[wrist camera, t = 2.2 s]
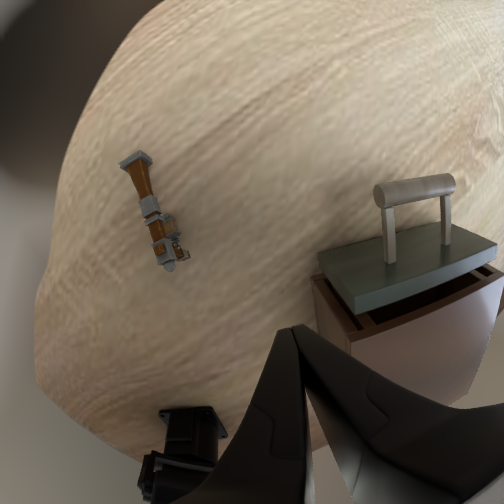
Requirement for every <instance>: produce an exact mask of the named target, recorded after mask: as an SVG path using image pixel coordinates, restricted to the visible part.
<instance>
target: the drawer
mask: <svg viewBox="0 0 504 504" xmlns="http://www.w3.org/2000/svg"><path fill="white" fill-rule="evenodd" d="M455 188H456V184H455V180H454V178H453V176H452V175H451V174H449V173H445V174H438V175H431V176H425V177H418V178H412V179H406V180H400V181H394V182H388V183H382V184H377V185H375V186H374V189H373V195H374V200H375V202H376V204H377V206H378V207H379V208H381V215H382V227H383V237H380V238H376V239H372V240H368V241H364V242H360V243H357V244H353V245H349V246H345V247H341V248H337V249H333V250H329V251H325V252H321V253H318V261H319V268H320V269H321V270H322V272H323V273H324V274H325V276H326V277H327V278H328V280H329V281H330V282H331V284H332V293H333V294H334V296H335V297H336V299H337V300H338V302H339V303H340V305H341V306H342V308H343V309H344V310H345V312H346V313H347V315H348V316H349V318H350V319H351V321H352V322H353V324H354V325H355V327H356V328H357V330H358V331H360V330H363V329H366V328H369V327H372V326H375V325H378V324H381V323H384V322H386V321H389V320H392V319H394V318H397V317H400V316H402V315H405V314H407V313H410V312H412V311H415V310H417V309H420V308H422V307H425V306H427V305H429V304H432V303H434V302H436V301H439V300H441V299H443V298H445V297H447V296H450V295H452V294H454V293H456V292H458V291H460V290H462V289H464V288H467V287H469V286H471V285H473V284H475V283H476V282H478V281H480V280H482V279H484V278H486V276H484V275H482V274H481V273H479V272H478V271H476V270H474V269H476V268H478V267H480V266H483V265H485V264H487V263H489V262H491V261H493V260H495V259H496V253H497V244H496V243H494V242H492V241H490V240H488V239H486V238H484V237H481V236H479V235H477V234H475V233H472V232H470V231H468V230H466V229H463V228H461V227H458V226H456V225H454V224H451V198H450V195H448V194H452V193H454V191H455ZM439 196H440V208H441V221H439V222H436V223H432V224H429V225H425V226H421V227H417V228H414V229H410V230H406V231H402V232H399V233H395V221H394V208H393V207H392V206H396V205H401V204H406V203H410V202H415V201H420V200H424V199H429V198H434V197H439Z"/></svg>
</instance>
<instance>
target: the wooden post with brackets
mask: <svg viewBox="0 0 504 504" xmlns="http://www.w3.org/2000/svg"><path fill="white" fill-rule="evenodd" d="M151 160H152V159H151V158H150V157H149V156H147V155H146V154H145V153H144V152H142V151H141V150H139V151H137V152H136V153H134V154H132V155H131V156H129V157H128V158H126V159H125V160H123V161H121V162H120V163H118V164H119V165H120V168H121V169H123V170H125V171H126V172H128V173H129V174H130V176H131V178H132V181H133V183H134V185H135V187H136V189H137V191H138V194H139V197H140V201H138V202H139V204H140V206H141V210H142V213H143V218H146V221H144V222H145V225H146V226H149V229H150V233H151V236H152V239H153V242H154V244H152V247H153V249H154V252H155V255H156V258H157V262H158V265H164V268H165V270H166V271H168V272H172V271H173V270H174V269H175V267H176V264H175V262H174V261H175V260H176V261H184V260H186V259H189V258H191V257H190V254H189V252H188V251H186V250H185V249H184V248H181V246H180V245H178V243H179V242H180V240H177V239H178V238H177V237H178V236H179V235H180V234H181V233H182V232H180V231H178V230H177V226H176V223H175V221H176V220H175V219H173V218H171V217H170V215H169V214H164V215H163V216H161V215H160V214H162V212H161V210H160V207H159V204H158V201H157V197H155V196H154V194H153V191H152V188H151V183H150V178H149V173H148V166H149V165H151V164H152V161H151ZM169 239H171V240H169ZM171 241H173V242H171ZM176 244H177V245H176ZM174 245H175V246H174ZM178 246H179V247H180V249H178V248H177V247H178Z"/></svg>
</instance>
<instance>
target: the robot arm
mask: <svg viewBox="0 0 504 504" xmlns="http://www.w3.org/2000/svg"><path fill="white" fill-rule="evenodd" d="M305 389H306V392H307V394H308V397H309V399H310V402H311V404H312V406H313V409H314V411H315V413H316V416H317V418H318V420H319V422H320V425H321V427H322V429H323V432H324V434H325V436H326V439H327V441H328V443H329V446H330V448H331V450H332V452H333V455H334V457H335V459H336V462H337V464H338V466H339V469H340V471H341V473H342V475H343V478H344V480H345V482H346V484H347V487H348V489H349V491H350V494H351V496H352V499H353V501H354V503H355V504H504V403H501V404H496V405H491V406H484V407H478V408H471V409H457V408H452V407H448V406H445V405H443V404H440V403H438V402H435V401H433V400H431V399H428V398H426V397H424V396H421V395H419V394H417V393H415V392H412V391H410V390H408V389H406V388H404V387H402V386H400V385H398V384H396V383H394V382H392V381H390V380H389V379H387V378H385V377H384V376H382V375H380V374H379V373H377V372H376V371H374V370H373V371H372V369H371V368H369V367H368V366H366V365H365V364H363V363H361V362H360V361H358V360H357V359H355V358H354V357H352V356H351V355H349V354H348V353H346V352H345V351H343V350H341V349H340V348H338V347H337V346H335V345H334V344H332V343H331V342H329V341H328V340H326V339H325V338H323V337H322V336H320V335H319V334H317V333H316V332H314V331H313V330H311V329H310V328H308V327H307V326H306V325H304V324H300V325H296V326H292V327H291V328H284V329H280V330H278V331H277V333H276V336H275V339H274V342H273V344H272V347H271V350H270V353H269V355H268V358H267V361H266V363H265V366H264V369H263V371H262V374H261V376H260V379H259V382H258V384H257V387H256V389H255V392H254V394H253V397H252V399H251V402H250V404H249V406H248V409H247V411H246V414H245V416H244V418H243V420H242V422H241V424H240V426H239V428H238V430H237V432H236V434H235V435H234V437H233V439H232V440H231V442H230V444H229V445H228V447H227V448H226V450H225V452H224V453H223V455H222V456H221V458H220V459H219V461H218V439H224V438H227V437H228V433H227V432H226V430H225V429H224V427H223V425H222V423H221V422H220V420H219V418H218V417H217V415H216V413H215V411H214V410H213V408H211V407H201V408H191V409H179V410H164V411H159V414H158V415H159V417H160V418H161V420H162V421H163V422H164V423H165V425H166V426H167V433H166V439H165V440H166V442H165V448H164V454H163V453H159V452H157V451H154V450H152V451H151V454H149V455H144V459H143V464H142V469H141V472H140V476H139V479H138V484H137V487H138V488H139V489H140V490H141V492H142V495H143V501H144V502H148V503H151V504H315V488H314V474H313V462H312V450H311V439H310V428H309V418H308V409H307V400H306V392H305ZM154 471H155V472H154Z"/></svg>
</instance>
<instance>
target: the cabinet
mask: <svg viewBox="0 0 504 504" xmlns="http://www.w3.org/2000/svg"><path fill="white" fill-rule="evenodd" d="M474 270H476V271H478V272H479V273H481V274H482V275H484V276H486V278H484V279H482V280H480V281H478V282H476V283H475V284H473V285H471V286H469V287H467V288H464V289H462V290H460V291H458V292H456V293H454V294H452V295H450V296H447V297H445V298H443V299H441V300H439V301H436V302H434V303H432V304H429V305H427V306H425V307H422V308H420V309H417V310H415V311H412V312H410V313H407V314H405V315H402V316H400V317H397V318H394V319H392V320H389V321H386V322H384V323H381V324H378V325H375V326H372V327H369V328H366V329H363V330H360V331H358V330H357V328H356V327H355V325H354V324H353V322H352V321H351V319H350V318H349V316H348V315H347V313H346V312H345V310H344V309H343V308H342V306H341V305H340V303H339V302H338V300H337V299H336V297H335V296H334V294H333V293H332V284H331V282H330V281H329V280H328V278H327V277H326V276H325V274H321V275H317V276H313V277H311V284H312V291H313V298H314V305H315V312H316V320H317V328H318V334H319V335H320V336H322V337H323V338H325V339H326V340H328V341H329V342H331V343H332V344H334V345H335V346H337V347H338V348H340V349H341V350H343V351H345V352H346V353H348V354H349V355H351V356H352V357H354V358H355V359H357V360H358V361H360V362H361V363H363V364H365V365H366V366H368V367H369V368H371V369H372V371H373V370H374V371H376V372H377V373H379V374H380V375H382V376H384V377H385V378H387V379H389V380H390V381H392V382H394V383H396V384H398V385H400V386H402V387H404V388H406V389H408V390H410V391H412V392H415V393H417V394H419V395H421V396H424V397H426V398H428V399H431V400H433V401H435V402H438V403H440V404H443V405H445V406H448V405H450V404H452V403H453V402H455V401H456V400H458V399H460V398H461V397H463V396H464V395H466V394H467V393H468V391H469V389H470V387H471V384H472V382H473V380H474V378H475V375H476V373H477V371H478V368H479V366H480V363H481V361H482V358H483V355H484V353H485V350H486V347H487V344H488V341H489V338H490V335H491V332H492V329H493V325H494V322H495V319H496V315H497V311H498V307H499V303H500V299H501V295H502V290H503V286H504V273H503V272H501V271H499V270H497V269H496V268H494V267H492V266H491V265H489V264H485V265H483V266H480V267H478V268H476V269H474Z"/></svg>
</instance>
